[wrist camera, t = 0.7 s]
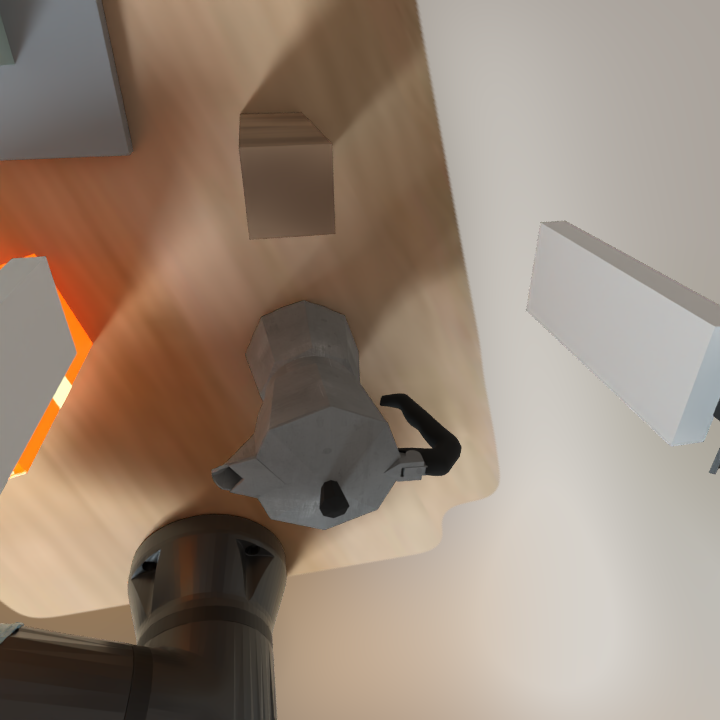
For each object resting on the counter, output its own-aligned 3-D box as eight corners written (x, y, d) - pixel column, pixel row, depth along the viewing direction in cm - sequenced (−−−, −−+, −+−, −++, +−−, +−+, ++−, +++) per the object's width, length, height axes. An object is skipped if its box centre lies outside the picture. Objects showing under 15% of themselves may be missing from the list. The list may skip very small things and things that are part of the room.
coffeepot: (223, 402, 45) (213, 582, 30) (216, 298, 40) (201, 449, 25) (399, 393, 48) (473, 553, 33) (411, 297, 43) (504, 430, 28)
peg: (305, 175, 37) (335, 234, 25) (247, 178, 36) (249, 239, 25) (301, 112, 35) (332, 143, 23) (239, 114, 34) (238, 147, 23)
